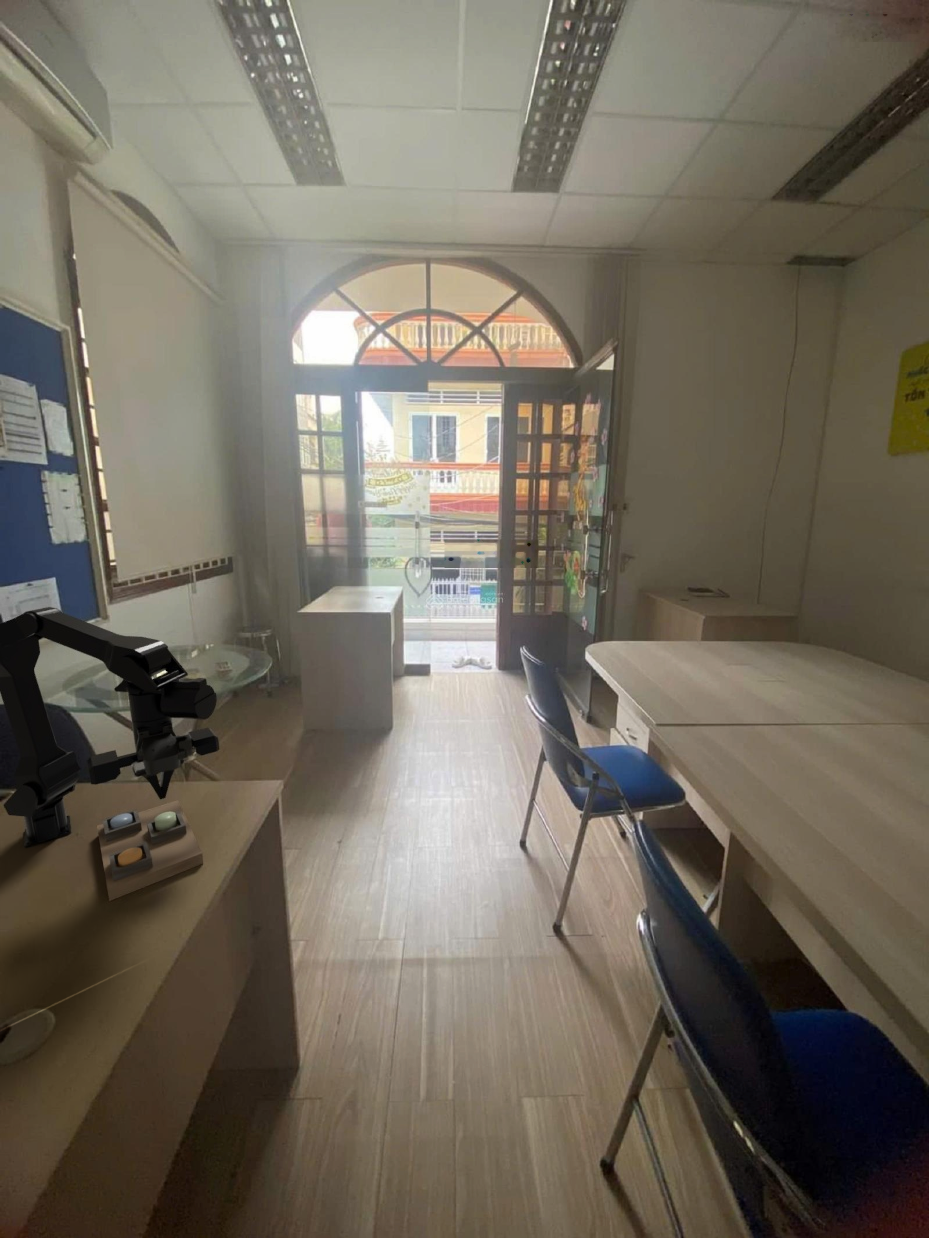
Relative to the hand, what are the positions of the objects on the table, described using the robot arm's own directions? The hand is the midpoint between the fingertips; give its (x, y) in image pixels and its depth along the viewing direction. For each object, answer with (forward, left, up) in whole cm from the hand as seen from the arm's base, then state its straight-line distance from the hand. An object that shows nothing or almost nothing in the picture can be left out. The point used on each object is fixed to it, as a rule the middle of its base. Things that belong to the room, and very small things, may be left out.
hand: (162, 797), depth 86 cm
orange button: (+6, -6, -6) cm, 11 cm away
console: (0, -3, -9) cm, 9 cm away
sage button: (0, 0, -5) cm, 5 cm away
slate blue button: (-6, -6, -6) cm, 11 cm away
